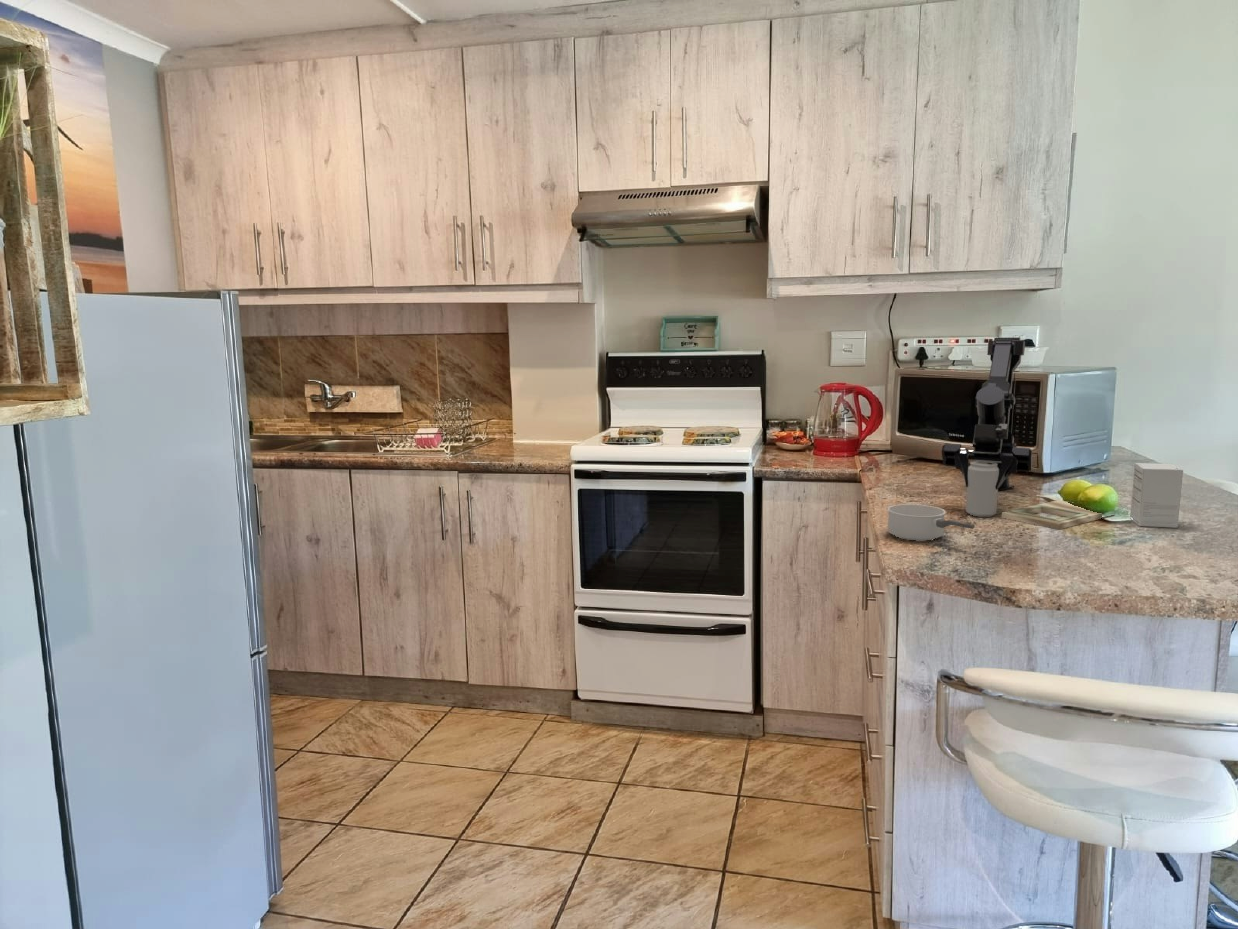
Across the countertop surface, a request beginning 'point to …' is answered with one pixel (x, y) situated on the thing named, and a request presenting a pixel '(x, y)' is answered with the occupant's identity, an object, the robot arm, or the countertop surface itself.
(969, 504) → the beverage can
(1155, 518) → the supplement box
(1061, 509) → the board
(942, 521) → the saucepan
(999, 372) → the robot arm
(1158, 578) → the countertop surface
